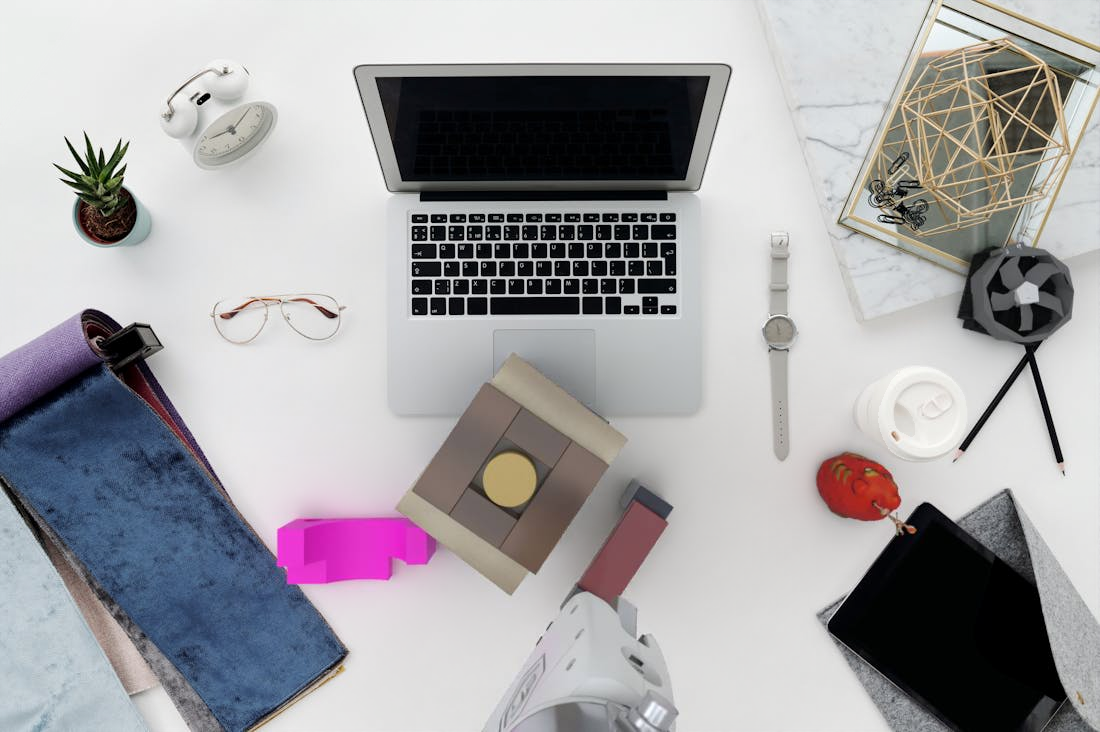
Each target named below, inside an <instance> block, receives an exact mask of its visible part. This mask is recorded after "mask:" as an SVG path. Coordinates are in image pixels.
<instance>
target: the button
mask: <svg viewBox="0 0 1100 732" xmlns="http://www.w3.org/2000/svg"><path fill="white" fill-rule="evenodd" d="M536 482H537V472H536V467H535V465H534V463H533V461H532V460H531V459H530V458H529V457H528V456H527V455H526V454H524V453H522V452H520V451H516V450H506V451H503V452H500V453H499V454H497V455H496V456H494V457H493V458H492V459H491V461H490V462H489V464H488V465H487V467H486V469H485V471H484V474H483V486H484V489H485V492H486V494H487V495H488V497H489V498H490V499H491V500H492V501H493V502H495V503H496V504H498V505H501V506H504V507H515V506H519V505H521V504H523V503H525V502H526V501H527V500H528V499H529V498H530V497H531V496H532V494H533V493H534V490H535V487H536Z"/></svg>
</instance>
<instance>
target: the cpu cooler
mask: <svg viewBox="0 0 1100 732" xmlns="http://www.w3.org/2000/svg"><path fill="white" fill-rule="evenodd" d="M964 285H965V286H964V288H963V292H962V293H963V294H962V295H961V300H960V302H959V307H958V310H957V317H956V318H958V319H960V320H963V324H962V326H961V327H962V329H965V330H969V331H972V332H975V333H979V334H982V335H986V336H990V337H993V338H994V339H995V340H996V341H1005V342H1011V343H1015V344H1018V345H1022V346H1025V347H1029V346H1038V345H1039V342H1040V341H1046V340H1049V337H1051V336H1052V335H1053V334H1055V333H1056V332H1057V331H1059V330H1060V329H1061V328H1063V326H1065V325H1066V324H1068V323H1069V322H1070V321H1071V320H1072V318H1073V309H1074V308H1073V307H1074V297H1075V289H1074V285H1073V281H1072V277H1071V273H1070V269H1069V266H1068V265H1066V264H1065V263H1064V262H1062V261H1061V260H1060V259H1058V257H1056V256H1054V255H1053V254H1052V253H1050V252H1049V251H1048V250H1046V249H1044V248H1039V247H1033V246H1029V245H1026V243H1025V242H1024V241H1019V242H1016V243H1012V244H1010V245H1007V246H1002V247H1000V246H996V245H992V246H989V247H986V248H983V249H982V251H980V252H979V251H978V252H977V253H974V254H972V260H971V262H970V266H969V270H968V274H967V278H966V280H965V284H964Z"/></svg>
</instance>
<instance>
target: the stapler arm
mask: <svg viewBox="0 0 1100 732" xmlns="http://www.w3.org/2000/svg"><path fill="white" fill-rule="evenodd" d="M668 525H669V522H668V521H667V519H666V520H665V519H663V518H662V517H660V516H659V515H657V514H656V513H654V512H653V511H652V510H650V509H649V508H647V507H646V506H644V505H643V504H641V503H640V502H638V501H637V500H635V499H633V500H632V501H631V503H630V504H629V506H628V507H627V509H626V510H625V509H624V512H623V513H622V514H621V516H620V518H619V519H618V521H617V522H616V524H615V525H614V527H613V528H612V529H611V531H610V533H609V534H608V536H607V537H606V538H605V540H604V542H603V543H602V545H601V546H600V548H599V549H598V551H597V552H596V554H595V555H594V556H593V558H592V560H591V561H590V562H589V564H588V565H587V567H586V569H585V570H584V571H583V572H582V573H583V574H581V576H580V577H579V579H578V581H576V582H575V584H574V585H573V587H572V588H571V589H570V591H569V592H568V594H567V595H566V597H565V598H564V600H563V602H562V603H561V605H560V607H559V609H560V611H561V610H562V609H563V607H564V606H565V605H566V604H567V602H568V601H569V600H570V599H571V598H572V597H573V596H575V595H576V594H579V593H582V592H589V593H591V594H593V595H595V596H597V597H599V598H600V599H602V600H604V601H605V602H606V603H608V604H610V602H611V601H612V600H613V598H614V597H615V596H616V595H619V596H620V597H622V595H623V593H624V591H625V590H626V588H627V587H628V586H629V584H630V583H631V581H632V579H633V578H634V577H635V575H636V573H637V572H638V571H639V569H640V568H641V566H642V564H643V563H644V562H645V560H646V558H647V557H648V556H649V554H650V553H651V551H652V550H653V548H654V546H655V545H656V543H657V542H658V540H659V539H660V538H661V536H662V534H663V533H664V531H665V530H666V528H667V527H668ZM560 611H559V612H560Z"/></svg>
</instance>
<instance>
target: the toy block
mask: <svg viewBox="0 0 1100 732" xmlns="http://www.w3.org/2000/svg"><path fill="white" fill-rule="evenodd" d="M435 554H436V539H435V538H433V537H432V536H431V535H429V534H428V533H427V532H425V531H424V530H423V529H421V528H420V527H419V526H417V525H416V524H415V523H414V522H412V521H411V520H410V519H408V518H407V517H406V516H404V517H402V516H401V517H341V518H340V517H337V518H336V517H334V518H333V517H332V518H331V517H329V518H325V517H324V518H296V519H294V520H291V521H290V522H288V523H287V524H284V525H282V526H280V527H279V528H276V555H277V556H276V558H277V559H276V567H277V568H282V567H283V568H286V585H328V584H332V583H338V582H339V583H340V582H345V581H347V582H348V581H357V580H358V581H360V580H378V581H388V582H389V581H390V579H391V578H392V577H393V558H394V559H398V560H400V561H404V562H405V563H406V566H427V565H428V564H429V562H430V561H431V559H432V558H433V556H434V555H435Z"/></svg>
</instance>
